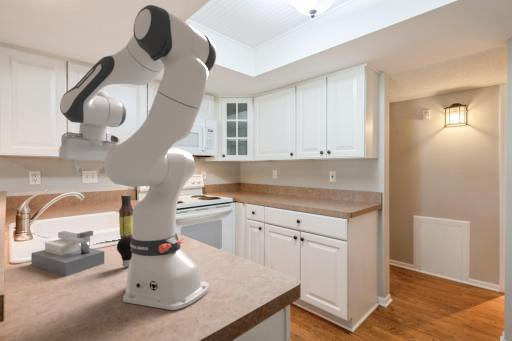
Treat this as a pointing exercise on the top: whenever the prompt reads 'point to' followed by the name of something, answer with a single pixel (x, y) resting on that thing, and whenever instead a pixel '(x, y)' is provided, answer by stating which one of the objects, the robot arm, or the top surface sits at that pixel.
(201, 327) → the top surface
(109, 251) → the top surface
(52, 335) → the top surface
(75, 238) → the t key
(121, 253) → the light bulb
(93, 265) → the housing
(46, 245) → the cover
